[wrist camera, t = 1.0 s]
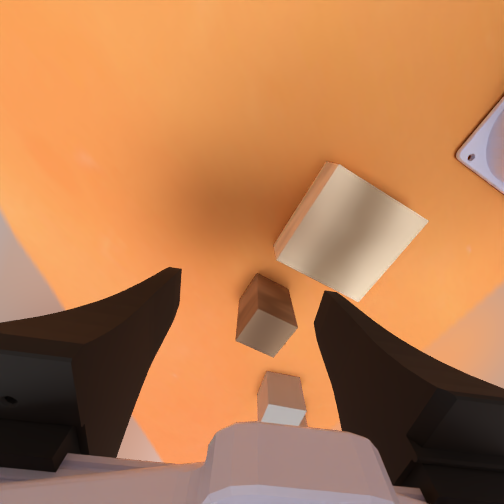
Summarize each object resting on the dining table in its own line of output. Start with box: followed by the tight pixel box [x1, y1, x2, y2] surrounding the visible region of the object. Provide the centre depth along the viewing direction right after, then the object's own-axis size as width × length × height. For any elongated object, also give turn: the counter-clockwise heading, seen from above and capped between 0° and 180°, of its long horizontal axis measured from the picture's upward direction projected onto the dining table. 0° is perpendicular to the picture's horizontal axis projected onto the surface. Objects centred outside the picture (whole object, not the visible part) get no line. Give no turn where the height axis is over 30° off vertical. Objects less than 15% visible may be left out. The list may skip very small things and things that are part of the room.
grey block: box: [257, 371, 307, 426], centre depth 27 cm, size 4×4×4 cm
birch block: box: [274, 161, 429, 302], centre depth 20 cm, size 8×8×4 cm
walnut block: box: [236, 273, 298, 358], centre depth 22 cm, size 4×4×6 cm
